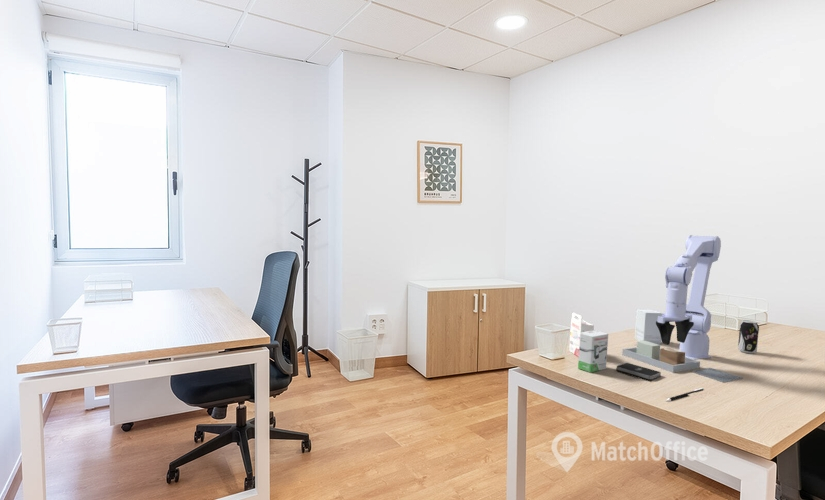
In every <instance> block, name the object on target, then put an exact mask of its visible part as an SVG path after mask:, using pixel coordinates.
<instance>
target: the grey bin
mask: <svg viewBox="0 0 825 500" xmlns="http://www.w3.org/2000/svg"><path fill="white" fill-rule="evenodd" d="M621 353H622V354H621V355H622V356H624V357H626V358H630V359H632V360H636V361H638V362H641V363H644V364H647V365H649V366H653V367H656V368H659V369H661V370H665V371H667V372H670V373H678V372H686V371H692V370H698V369H700V367H701V361H698V360H697V359H696V360H694V359H690V358H687V357H685V363H684V364H678V365H671V364H668V363H665V362H662V361H660V357H659V359H657V360H656V359H653V358H650V357H647V356H644V355H641V354H638V353H637V346H636V347H630V348H629V347H628V348H622V351H621Z"/></svg>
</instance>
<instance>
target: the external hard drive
mask: <svg viewBox="0 0 825 500" xmlns="http://www.w3.org/2000/svg"><path fill="white" fill-rule="evenodd" d="M616 372H618V373H621V374H624V375H627V376H630V377H634V378H637V379H640V380H644V381H647V382H652V381H653V380H656V379H657V378H661V374H662V373H661V372H662V371H659V370H655V369H651V368H648V367H645V366H641V365H637V364H633V363H630V362H623V363H622V364H619V365H616Z"/></svg>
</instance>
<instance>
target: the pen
mask: <svg viewBox="0 0 825 500" xmlns="http://www.w3.org/2000/svg"><path fill="white" fill-rule="evenodd" d="M701 391H705V389H704V388H703V387H700V388H696V389H693V390H692V391H689V392H685V393H681V394H678V395H675V396H671V397H668V398H667V399H665V402H672V401H676V400H680V399H682V398H687V397H689V396H690V394H694V393H697V392H701Z"/></svg>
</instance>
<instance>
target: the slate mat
mask: <svg viewBox="0 0 825 500" xmlns="http://www.w3.org/2000/svg"><path fill="white" fill-rule="evenodd" d="M690 373H694V374H696V375H699V376H702V377H704V378H709V379H712V380H714V381H717V382H721V383H722V384H724V383H728V382H733V381H738V380H742V379H744V378H743V377H741V376H738V375H735V374H731V373H729V372H724V371H723V370H720V369H719V370H718V369H715V368H713V367H709V368H708V367H707V368H702V369H694V370H690Z"/></svg>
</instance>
